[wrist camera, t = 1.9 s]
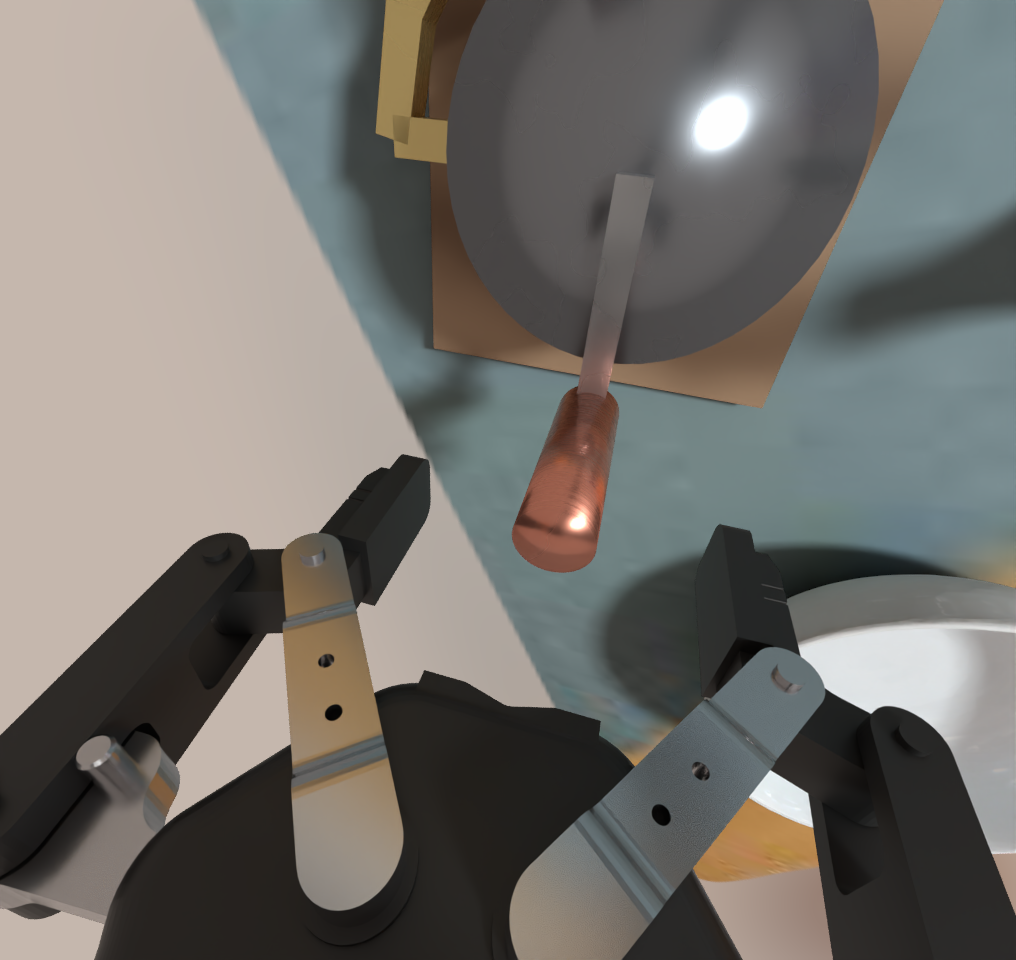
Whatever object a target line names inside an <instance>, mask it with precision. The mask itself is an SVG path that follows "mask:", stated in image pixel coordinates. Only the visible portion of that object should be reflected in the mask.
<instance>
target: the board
mask: <svg viewBox="0 0 1016 960" xmlns="http://www.w3.org/2000/svg"><path fill="white" fill-rule="evenodd" d="M868 1H869V4H870V7H871V11H872V14H873V18H874V24H875V32H876V39H877V46H878V54H879V95H878V103H877V110H876V118H875V126H874V132H873V136H872V140H871V144H870V148H869V152H868V156H867V160H866V164H865V167H864V170H863V172H862V175H861V177H860V180H859V183H858V185H857V188H856V191H855V193H854V196H853V199H852V201H851V203H850V205H849V207H848V209H847V211H846V213H845V214H844V216H843V218H842V220H841V222H840V224H839V226H838V228H837V230H836V232H835V233H834V235H833V236H832V238H831V239H830V241H829V242H828V244H827V245H826V247H825V249H824V250H823V252H822V253H821V255H820V256H819V258H818V259H817V260H816V261H815V263H814V264H813V265H812V266H811V267H810V269H809V270H808V271H807V272H806V274H805V275H804V276H803V277H802V279H801V280H800V281H799V282H798V283H797V284H796V285H795V286H794V287H793V288H792V289H791V290H790V291H789V292H788V293H787V294H786V295H785V296H784V297H783V298H782V299H781V300H780V301H779V302H778V303H777V304H776V305H774V306H773V307H772V308H771V309H770V310H768V311H767V312H766V313H765V314H763V315H762V316H761V317H760V318H758V319H757V320H756V321H754V322H753V323H751V324H750V325H748V326H747V327H745V328H744V329H742V330H741V331H739V332H737V333H736V334H734V335H733V336H731V337H729V338H727V339H725V340H723V341H721V342H719V343H717V344H715V345H713V346H711V347H708V348H706V349H703V350H700V351H698V352H695V353H692V354H690V355H687V356H683V357H679V358H675V359H671V360H667V361H661V362H653V363H645V364H615V363H613V368H612V372H611V377H610V381H615V382H621V383H626V384H632V385H637V386H643V387H648V388H654V389H659V390H665V391H670V392H676V393H681V394H686V395H692V396H697V397H703V398H708V399H714V400H719V401H725V402H730V403H736V404H741V405H747V406H752V407H758V408H762V407H763V405H764V403H765V401H766V398H767V396H768V394H769V392H770V389H771V387H772V385H773V383H774V380H775V378H776V376H777V374H778V371H779V369H780V367H781V365H782V363H783V360H784V358H785V356H786V354H787V351H788V349H789V347H790V345H791V342H792V340H793V338H794V336H795V333H796V331H797V329H798V327H799V324H800V322H801V320H802V318H803V315H804V313H805V311H806V309H807V306H808V304H809V302H810V300H811V297H812V295H813V293H814V291H815V288H816V286H817V284H818V282H819V280H820V277H821V275H822V273H823V271H824V268H825V266H826V264H827V262H828V259H829V257H830V255H831V253H832V250H833V248H834V246H835V244H836V241H837V239H838V237H839V235H840V232H841V230H842V228H843V226H844V223H845V221H846V219H847V217H848V214H849V212H850V210H851V208H852V205H853V203H854V201H855V199H856V196H857V194H858V192H859V190H860V188H861V185H862V183H863V181H864V179H865V176H866V174H867V172H868V170H869V167H870V165H871V163H872V161H873V158H874V156H875V154H876V152H877V149H878V147H879V145H880V143H881V140H882V138H883V136H884V134H885V131H886V129H887V127H888V125H889V122H890V120H891V118H892V116H893V113H894V111H895V109H896V107H897V105H898V102H899V100H900V98H901V96H902V93H903V91H904V89H905V87H906V84H907V82H908V80H909V78H910V75H911V73H912V71H913V69H914V66H915V64H916V62H917V60H918V57H919V55H920V53H921V51H922V48H923V46H924V44H925V42H926V39H927V37H928V35H929V33H930V30H931V28H932V26H933V24H934V22H935V19H936V17H937V15H938V13H939V10H940V8H941V6H942V4H943V1H944V0H868ZM485 2H486V0H448V1H447V3H446V6H445V8H444V10H443V12H442V14H441V16H440V18H439V20H438V23H437V25H436V32H435V39H434V47H433V55H432V63H431V70H430V78H429V117H432V118H442V119H448V116H449V110H450V103H451V97H452V90H453V86H454V83H455V79H456V75H457V71H458V67H459V64H460V60H461V57H462V54H463V51H464V49H465V46H466V44H467V41H468V38H469V36H470V33H471V30H472V28H473V25H474V23H475V21H476V20H477V18H478V16H479V14H480V12H481V10H482V8H483V6H484V4H485ZM430 180H431V233H432V287H433V340H434V348H435V349H440V350H446V351H451V352H457V353H462V354H468V355H473V356H479V357H484V358H490V359H495V360H500V361H506V362H511V363H517V364H522V365H528V366H533V367H539V368H544V369H550V370H555V371H561V372H566V373H572V374H577V375H580V373H581V368H582V362H583V358H582V357H578V356H575V355H572V354H570V353H567V352H564V351H562V350H559V349H557V348H555V347H553V346H551V345H550V344H548V343H546V342H544V341H542V340H540V339H539V338H537V337H536V336H534V335H533V334H532V333H530V332H529V331H527V330H526V329H524V328H523V327H522V326H521V325H520V324H518V323H517V322H516V321H515V320H514V319H513V318H512V317H511V316H510V315H508V314H507V313H506V312H505V310H504V309H503V308H502V307H501V306H500V305H499V304H498V302H497V301H496V300H495V299H494V298H493V297H492V295H491V294H490V292H489V291H488V290H487V288H486V287H485V285H484V284H483V282H482V281H481V279H480V278H479V276H478V274H477V272H476V270H475V269H474V267H473V265H472V263H471V261H470V259H469V257H468V255H467V252H466V250H465V247H464V245H463V242H462V240H461V237H460V235H459V232H458V228H457V224H456V221H455V217H454V213H453V209H452V204H451V198H450V192H449V186H448V177H447V164H446V163H438V162H430Z"/></svg>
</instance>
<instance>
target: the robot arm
mask: <svg viewBox="0 0 1016 960" xmlns="http://www.w3.org/2000/svg"><path fill="white" fill-rule="evenodd" d="M429 509H430V465H429V461H428V460H427V459H423V458H418V457H413V456H409V455H404V454H403V455H401V456H400V457H399V458H398V459H397V460H396V462H395V463H394V464H393V465H392V467H391V468H390V469H387V468H382V467H381V468H379V469H378V470H376V471H374V472H373V473H371V474H369V475H367V476H366V477H365V478H364V479H363V480H362V482H361V483H360V484H359V485H358V486H357V488H356V490H354V491H353V492H352V494H351V495H350V496H349V499H347V500H346V501H345V502H344V503H343V504H342V506H341V507H340V508H339V509H338V510H337V511H336V513H335V514H334V515H333V516H332V517H331V519H330V520H329V521H328V522H327V523H326V525H325V526H324V527H323V528H322V529H321V531H320V532H319V533H312V534H308V535H304V536H301V537H299V538H297V539H295V540H294V541H292V542H291V543H290V544H288V545H287V547H286V548H285V549H259V550H258V549H257V550H250V547H249V544H248V542H247V540H246V539H245V538H244V537H243V536H240V535H238V534H234V533H219V534H215V535H211V536H208V537H206V538H203V539H201V540H200V541H198V542H196V543H195V544H193V545H192V546H191V547H190V548H189V549H188V550H187V551H186V552H185V553H184V554H183V555H182V556H181V557H180V558H179V559H178V560H177V561H176V562H175V563H174V564H173V565H172V566H171V567H170V568H169V569H168V570H167V571H166V572H165V573H164V574H163V575H162V576H161V577H160V578H159V579H158V580H157V581H156V582H155V583H154V584H153V585H152V586H151V587H150V588H149V589H148V590H147V591H146V592H145V593H144V594H143V595H142V596H141V597H140V598H139V599H138V600H136V602H135V603H134V604H132V606H130V607H129V608H128V609H127V610H126V612H124V613H123V614H122V615H121V617H119V618H118V619H117V620H116V621H115V622H114V623H113V624H112V625H111V626H110V627H109V628H108V629H107V630H106V631H105V632H104V633H103V634H102V635H101V636H100V637H99V638H98V639H97V640H96V641H95V642H94V643H93V644H92V645H91V646H90V647H89V648H88V649H87V650H86V651H85V652H84V653H83V654H82V655H81V656H80V657H79V658H78V659H77V660H76V661H75V662H74V663H73V664H72V665H71V666H70V667H69V668H68V669H67V670H66V671H65V672H64V673H63V674H62V675H61V676H60V677H59V678H58V679H57V680H56V681H55V682H54V683H53V684H52V685H51V686H50V687H49V688H48V689H47V690H46V691H45V692H44V693H43V694H42V695H41V696H40V697H39V698H38V699H37V700H36V701H35V702H34V703H33V704H32V705H31V706H30V707H28V709H27V710H25V711H24V713H23V714H21V715H20V716H19V717H18V718H17V719H16V720H15V721H14V723H12V724H11V725H10V726H9V727H8V728H7V729H6V730H5V731H4V732H3V733H2V734H1V735H0V908H2V909H8V910H10V911H12V912H14V913H16V914H18V915H20V916H22V917H24V918H28V919H42V918H46V917H49V916H52V915H54V914H56V913H59V912H61V911H63V912H67V913H70V914H73V915H76V916H80V917H83V918H86V919H89V920H93V921H96V922H99V923H102V924H105V925H104V929H103V932H102V936H101V940H100V944H99V948H98V950H97V953H96V956H95V959H94V960H742V958H741V956H740V954H739V952H738V951H737V949H736V947H735V945H734V943H733V941H732V939H731V938H730V936H729V934H728V932H727V930H726V928H725V927H724V925H723V923H722V921H721V919H720V918H719V916H718V914H717V912H716V910H715V908H714V907H713V905H712V903H711V901H710V899H709V897H708V896H707V894H706V892H705V890H704V888H703V886H702V885H701V883H700V881H699V879H698V877H697V875H696V874H695V872H694V870H693V867H694V866H695V865H696V863H697V862H698V861H699V860H700V858H701V857H702V856H703V855H704V853H705V852H706V851H707V849H708V848H709V847H710V846H711V844H712V843H713V842H714V841H715V839H716V838H717V837H718V836H719V834H720V833H721V832H722V830H723V829H724V828H725V827H726V825H727V824H728V823H729V822H730V820H731V819H732V818H733V817H734V815H735V814H736V813H737V812H738V810H739V809H740V808H741V806H742V805H743V804H744V803H745V801H746V800H747V799H748V798H749V796H750V795H751V794H752V793H753V791H754V790H755V789H756V787H757V786H758V785H759V784H760V782H761V781H762V780H763V779H764V777H765V776H766V775H767V774H768V772H769V771H770V770H771V771H772V772H774V773H776V774H777V775H779V776H780V777H782V778H784V779H785V780H787V781H789V782H790V783H792V784H794V785H795V786H797V787H798V788H800V789H802V790H803V791H805V792H807V793H808V796H809V803H810V809H811V816H812V823H813V829H814V836H815V842H816V849H817V856H818V862H819V869H820V876H821V882H822V888H823V895H824V902H825V909H826V915H827V922H828V929H829V935H830V942H831V948H832V955H833V960H1016V915H1015V912H1014V910H1013V907H1012V905H1011V902H1010V899H1009V897H1008V894H1007V892H1006V889H1005V887H1004V884H1003V881H1002V879H1001V876H1000V874H999V871H998V869H997V866H996V863H995V861H994V858H993V856H992V853H991V851H990V848H989V845H988V843H987V840H986V838H985V835H984V833H983V830H982V827H981V825H980V822H979V820H978V817H977V815H976V812H975V809H974V807H973V804H972V802H971V799H970V797H969V794H968V791H967V789H966V786H965V784H964V781H963V779H962V776H961V773H960V771H959V768H958V766H957V763H956V761H955V758H954V755H953V753H952V751H951V749H950V747H949V746H948V744H947V742H946V741H945V740H944V739H943V737H942V736H941V735H940V734H939V733H938V732H937V731H936V730H935V729H934V728H933V727H932V726H931V725H930V724H929V723H927V722H926V721H925V720H923V719H922V718H920V717H919V716H917V715H915V714H914V713H912V712H909V711H907V710H905V709H902V708H899V707H894V706H882V707H879V708H877V709H876V710H875V711H873V712H872V713H871V714H870V713H869V712H867V711H865V710H863V709H861V708H859V707H857V706H855V705H853V704H851V703H849V702H848V701H846V700H844V699H842V698H840V697H838V696H836V695H835V694H833V693H831V692H830V691H829V690H827V689H826V688H825V687H824V683H823V681H822V679H821V677H820V675H819V674H818V672H817V671H816V670H815V668H814V667H813V666H812V665H811V664H810V663H808V662H807V661H806V660H805V659H804V658H802V657H801V655H800V651H799V647H798V643H797V639H796V635H795V631H794V627H793V623H792V619H791V615H790V611H789V607H788V605H787V599H786V595H785V591H783V589H784V587H783V583H782V579H781V575H780V571H779V570H778V568H777V567H776V566H775V564H774V563H773V562H772V560H771V559H770V558H769V556H768V555H766V554H762V553H757V552H755V549H754V544H753V539H752V535H751V532H750V531H748V530H744V529H739V528H735V527H730V526H726V525H721V524H719V525H718V526H717V527H716V529H715V531H714V533H713V535H712V537H711V540H710V542H709V544H708V546H707V549H706V551H705V553H704V555H703V557H702V560H701V562H700V564H699V567H698V570H697V575H696V582H695V592H696V608H697V625H698V642H699V658H700V675H701V692H702V696H703V697H707V698H710V700H709V701H708V700H707V699H705V700H704V701H702V702H701V703H700V704H699V705H698V706H697V707H696V708H695V709H694V710H693V711H692V712H691V713H690V714H689V715H688V716H687V717H686V718H685V719H683V720H682V721H681V722H680V723H679V724H678V725H677V726H676V727H675V728H674V729H673V730H672V731H671V732H670V733H669V734H668V735H667V736H666V737H665V738H664V739H663V740H662V741H661V742H660V743H659V744H658V745H657V746H656V747H655V748H654V749H653V750H652V751H651V752H650V753H649V754H648V755H647V756H646V757H645V758H644V759H643V760H642V761H641V762H640V763H639V764H638V765H636V766H634V765H633V764H632V763H631V761H630V760H629V759H628V758H627V757H626V756H625V755H624V754H623V753H622V752H621V751H620V750H619V749H618V748H616V747H615V746H614V745H612V744H611V743H610V742H608V741H607V740H606V739H604V738H602V737H601V736H599V731H600V722H601V721H599V720H595V719H592V718H588V717H585V716H581V715H578V714H574V713H571V712H568V711H564V710H561V709H557V708H538V707H511V706H506V705H504V704H502V703H500V702H498V701H497V700H495V699H493V698H492V697H490V696H488V695H487V694H485V693H483V692H482V691H480V690H478V689H476V688H475V687H473V686H471V685H470V684H468V683H466V682H464V681H460V680H457V679H453V678H450V677H446V676H443V675H439V674H436V673H433V672H429V671H426V670H424V673H423V675H422V677H421V679H420V681H419V683H409V684H400V685H396V686H391V687H388V688H385V689H382V690H380V691H377V692H375V693H374V691H373V687H372V682H371V677H370V672H369V667H368V663H367V658H366V653H365V649H364V644H363V639H362V635H361V630H360V625H359V621H358V616H357V611H356V609H357V607H358V606H359V604H360V603H361V602H363V603H366V604H370V605H374V606H375V605H376V603H377V601H378V600H379V598H380V596H381V595H382V593H383V591H384V590H385V588H386V586H387V585H388V583H389V581H390V580H391V578H392V576H393V575H394V573H395V571H396V570H397V568H398V566H399V564H400V563H401V561H402V559H403V558H404V556H405V554H406V553H407V551H408V549H409V548H410V546H411V544H412V543H413V541H414V539H415V538H416V536H417V534H418V533H419V531H420V529H421V527H422V526H423V524H424V523H425V521H426V518H427V516H428V513H429ZM267 633H283V641H284V654H285V669H286V683H287V696H288V710H289V724H290V737H291V744H290V745H289V746H287V747H285V748H284V749H282V750H281V751H279V752H277V753H276V754H274V755H273V756H271V757H269V758H268V759H266V760H265V761H263V762H261V763H260V764H258V765H257V766H255V767H253V768H252V769H250V770H248V771H247V772H245V773H244V774H242V775H240V776H239V777H237V778H236V779H234V780H232V781H231V782H229V783H228V784H226V785H224V786H223V787H221V788H220V789H218V790H216V791H215V792H213V793H212V794H210V795H208V796H207V797H205V798H204V799H202V800H200V801H199V802H197V803H196V804H194V805H192V806H191V807H189V808H188V809H186V810H185V811H183V812H182V813H180V814H179V815H177V816H176V817H175V818H173V819H172V820H171V821H170V822H168V823H167V824H166V825H165V820H166V816H167V814H168V812H169V808H170V807H171V805H172V803H173V801H174V799H175V797H176V795H177V792H178V789H179V784H180V775H179V771H178V769H177V767H176V764H177V762H178V761H179V759H180V758H181V756H182V755H183V754H184V752H185V751H186V749H187V748H188V746H189V745H190V743H191V742H192V741H193V739H194V738H195V736H196V735H197V733H198V732H199V731H200V729H201V728H202V726H203V725H204V723H205V722H206V720H207V719H208V718H209V716H210V715H211V713H212V712H213V710H214V709H215V708H216V706H217V705H218V703H219V702H220V700H221V699H222V697H223V696H224V695H225V693H226V692H227V690H228V689H229V687H230V686H231V684H232V683H233V682H234V680H235V679H236V677H237V676H238V674H239V673H240V672H241V670H242V669H243V667H244V666H245V664H246V663H247V661H248V660H249V658H250V657H251V656H252V654H253V653H254V651H255V650H256V648H257V647H258V646H259V644H260V643H261V641H262V640H263V638H264V637H265V636H266V634H267ZM164 825H165V826H164Z"/></svg>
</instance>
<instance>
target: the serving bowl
mask: <svg viewBox="0 0 1016 960" xmlns="http://www.w3.org/2000/svg"><path fill="white" fill-rule="evenodd" d="M787 605H788V607H789V611H790V615H791V619H792V623H793V627H794V631H795V635H796V639H797V643H798V647H799V651H800V655H801V657H802V658H804V659H805V660H806V661H807V662H808V663H810V664H811V665H812V666H813V667H814V668H815V670H816V671H817V672H818V674H819V675H820V677H821V679H822V681H823V683H824V687H825V688H826V689H827V690H829V691H830V692H831V693H833V694H835V695H836V696H838V697H840V698H842V699H844V700H846V701H848V702H849V703H851V704H853V705H855V706H857V707H859V708H861V709H863V710H865V711H867V712H869V713H870V714H871V713H872V712H873V711H875V710H876V709H877V708H879V707H882V706H894V707H899V708H902V709H905V710H907V711H909V712H912V713H914V714H915V715H917V716H919V717H920V718H922V719H923V720H925V721H926V722H927V723H929V724H930V725H931V726H932V727H933V728H934V729H935V730H936V731H937V732H938V733H939V734H940V735H941V736H942V737H943V739H944V740H945V741H946V742H947V744H948V746H949V747H950V749H951V751H952V753H953V755H954V758H955V761H956V763H957V766H958V768H959V771H960V773H961V776H962V779H963V781H964V784H965V786H966V789H967V791H968V794H969V797H970V799H971V802H972V804H973V807H974V809H975V812H976V815H977V817H978V820H979V822H980V825H981V827H982V830H983V833H984V835H985V838H986V840H987V843H988V845H989V848H990V851H991V853H992V854H1001V853H1002V854H1003V853H1016V588H1012V587H1008V586H1005V585H1001V584H996V583H991V582H986V581H980V580H974V579H968V578H960V577H951V576H940V575H884V576H874V577H864V578H857V579H852V580H847V581H842V582H837V583H832V584H828V585H824V586H821V587H818V588H814V589H811V590H808V591H805V592H803V593H800V594H797V595H795V596H792V597H790V598H788V599H787ZM705 699H707V700H708V701H709V700H710V698H707V697H705V698H704V700H705ZM749 798H750V799H752V800H753V801H755V802H757V803H758V804H760V805H762V806H764V807H765V808H767V809H769V810H771V811H773V812H775V813H777V814H779V815H781V816H784V817H786V818H788V819H791V820H793V821H795V822H798V823H800V824H803V825H806V826H809V827H812V828H813V823H812V816H811V809H810V803H809V796H808V793H807V792H805V791H803V790H802V789H800V788H798V787H797V786H795V785H794V784H792V783H790V782H789V781H787V780H785V779H784V778H782V777H780V776H779V775H777V774H776V773H774V772H772V771H771V770H770V771H769V772H768V774H767V775H766V776H765V777H764V779H763V780H762V781H761V782H760V784H759V785H758V786H757V787H756V789H755V790H754V791H753V793H752V794H751V795H750V796H749Z"/></svg>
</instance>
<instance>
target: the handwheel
mask: <svg viewBox="0 0 1016 960" xmlns="http://www.w3.org/2000/svg"><path fill="white" fill-rule="evenodd" d="M447 1H448V0H386V7H385V20H384V33H383V45H382V58H381V71H380V84H379V96H378V109H377V122H376V134H379V135H382V136H384V137H387V138H390V139H393V140H394V153H395V157H396V158H405V159H413V160H421V161H430V162H438V163H446V164H447V177H448V186H449V192H450V198H451V204H452V209H453V213H454V217H455V221H456V224H457V228H458V232H459V235H460V237H461V240H462V242H463V245H464V247H465V250H466V252H467V255H468V257H469V259H470V261H471V263H472V265H473V267H474V269H475V270H476V272H477V274H478V276H479V278H480V279H481V281H482V282H483V284H484V285H485V287H486V288H487V290H488V291H489V292H490V294H491V295H492V297H493V298H494V299H495V300H496V301H497V302H498V304H499V305H500V306H501V307H502V308H503V309H504V310H505V312H506V313H507V314H508V315H510V316H511V317H512V318H513V319H514V320H515V321H516V322H517V323H518V324H520V325H521V326H522V327H523V328H524V329H526V330H527V331H529V332H530V333H532V334H533V335H534V336H536V337H537V338H539V339H540V340H542V341H544V342H546V343H548V344H550V345H551V346H553V347H555V348H557V349H559V350H562V351H564V352H567V353H570V354H572V355H575V356H578V357H582V358H583V362H582V368H581V373H580V379H579V384H578V386H577V387H575V388H573V389H571V390H570V391H568V392H567V393H566V394H565V395H564V396H563V398H562V400H561V402H560V404H559V407H558V410H557V412H556V415H555V418H554V420H553V423H552V426H551V428H550V431H549V433H548V436H547V439H546V441H545V444H544V447H543V449H542V452H541V455H540V457H539V460H538V463H537V465H536V468H535V471H534V473H533V476H532V479H531V481H530V484H529V487H528V489H527V492H526V495H525V497H524V500H523V503H522V505H521V508H520V511H519V513H518V516H517V519H516V521H515V524H514V526H513V530H512V540H513V543H514V546H515V548H516V549H517V551H518V552H519V554H520V555H521V556H522V557H523V558H524V559H525V560H527V561H528V562H529V563H531V564H533V565H534V566H536V567H538V568H541V569H544V570H547V571H552V572H563V573H564V572H572V571H576V570H579V569H581V568H583V567H585V566H586V565H588V564H589V563H590V562H591V561H592V559H593V558H594V556H595V553H596V549H597V543H598V537H599V531H600V525H601V519H602V513H603V507H604V501H605V495H606V489H607V483H608V477H609V472H610V466H611V460H612V454H613V448H614V442H615V436H616V430H617V424H618V418H619V407H618V404H617V402H616V400H615V398H614V397H613V396H612V395H611V394H610V393H609V392H608V391H607V390H608V386H609V381H610V377H611V372H612V368H613V363H615V364H645V363H653V362H661V361H667V360H671V359H675V358H679V357H683V356H687V355H690V354H692V353H695V352H698V351H700V350H703V349H706V348H708V347H711V346H713V345H715V344H717V343H719V342H721V341H723V340H725V339H727V338H729V337H731V336H733V335H734V334H736V333H737V332H739V331H741V330H742V329H744V328H745V327H747V326H748V325H750V324H751V323H753V322H754V321H756V320H757V319H758V318H760V317H761V316H762V315H763V314H765V313H766V312H767V311H768V310H770V309H771V308H772V307H773V306H774V305H776V304H777V303H778V302H779V301H780V300H781V299H782V298H783V297H784V296H785V295H786V294H787V293H788V292H789V291H790V290H791V289H792V288H793V287H794V286H795V285H796V284H797V283H798V282H799V281H800V280H801V279H802V277H803V276H804V275H805V274H806V272H807V271H808V270H809V269H810V267H811V266H812V265H813V264H814V263H815V261H816V260H817V259H818V258H819V256H820V255H821V253H822V252H823V250H824V249H825V247H826V245H827V244H828V242H829V241H830V239H831V238H832V236H833V235H834V233H835V232H836V230H837V228H838V226H839V224H840V222H841V220H842V218H843V216H844V214H845V213H846V211H847V209H848V207H849V205H850V203H851V201H852V199H853V196H854V193H855V191H856V188H857V185H858V183H859V180H860V177H861V175H862V172H863V170H864V167H865V164H866V160H867V156H868V152H869V148H870V144H871V140H872V136H873V132H874V126H875V118H876V110H877V103H878V95H879V54H878V46H877V39H876V32H875V24H874V18H873V14H872V11H871V7H870V4H869V1H868V0H486V2H485V4H484V6H483V8H482V10H481V12H480V14H479V16H478V18H477V20H476V21H475V23H474V25H473V28H472V30H471V33H470V36H469V38H468V41H467V44H466V46H465V49H464V51H463V54H462V57H461V60H460V64H459V67H458V71H457V75H456V79H455V83H454V86H453V90H452V97H451V103H450V110H449V116H448V119H442V118H432V117H425V109H426V101H427V94H428V86H429V78H430V70H431V63H432V55H433V47H434V39H435V32H436V25H437V23H438V20H439V18H440V16H441V14H442V12H443V10H444V8H445V6H446V3H447Z"/></svg>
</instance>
